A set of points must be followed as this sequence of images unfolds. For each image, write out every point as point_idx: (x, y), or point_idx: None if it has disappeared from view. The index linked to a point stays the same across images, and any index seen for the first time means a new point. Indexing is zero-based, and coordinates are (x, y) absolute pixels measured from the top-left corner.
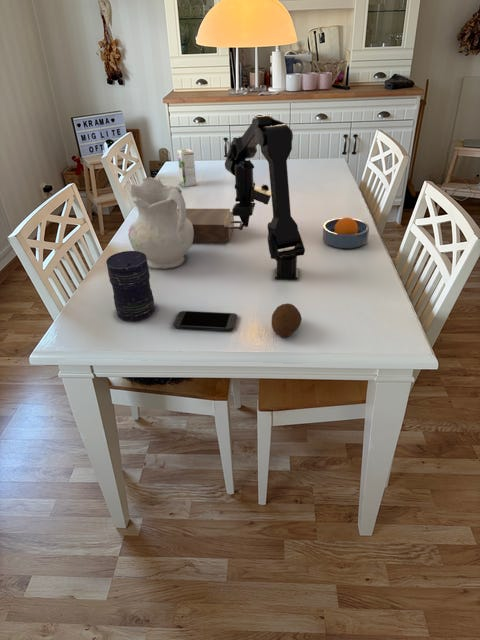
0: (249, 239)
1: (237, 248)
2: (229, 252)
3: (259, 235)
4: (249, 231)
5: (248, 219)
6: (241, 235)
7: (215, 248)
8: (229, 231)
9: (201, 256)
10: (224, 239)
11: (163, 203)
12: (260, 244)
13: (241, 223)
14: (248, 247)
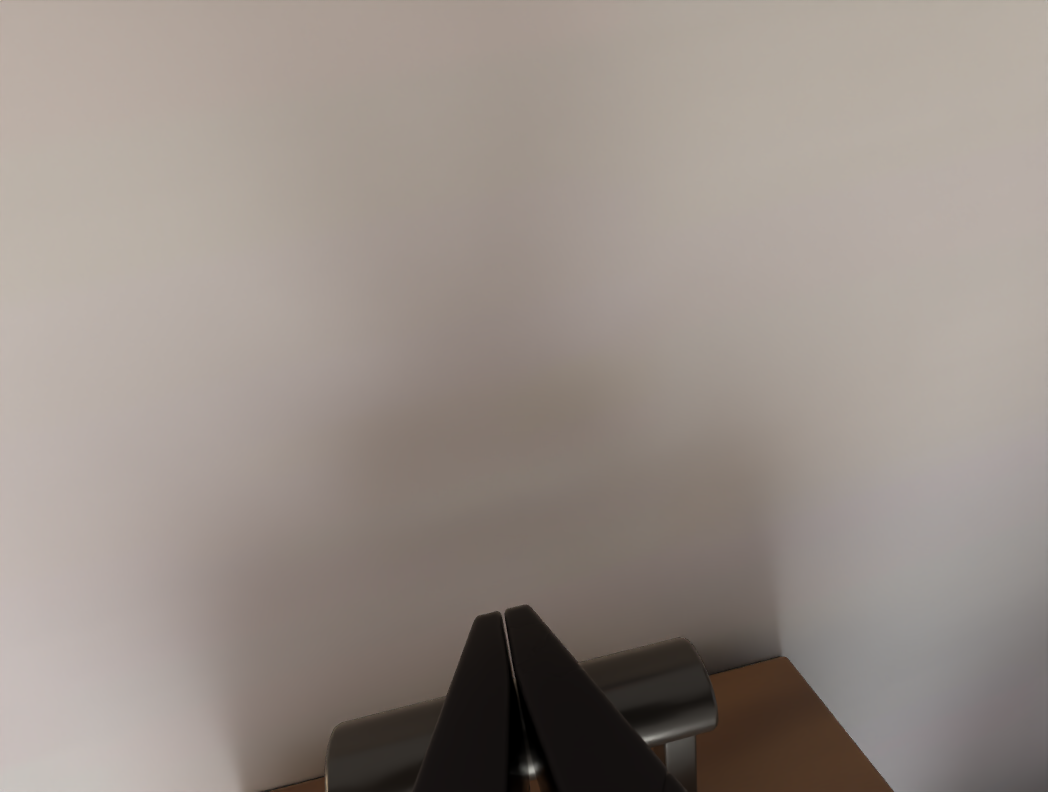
0: (638, 437)
1: (912, 493)
2: (999, 537)
3: (459, 328)
4: (334, 529)
5: (653, 756)
6: (513, 581)
7: (886, 690)
8: (776, 770)
9: (1031, 718)
10: None
11: None
12: (813, 219)
13: None
14: (899, 371)
